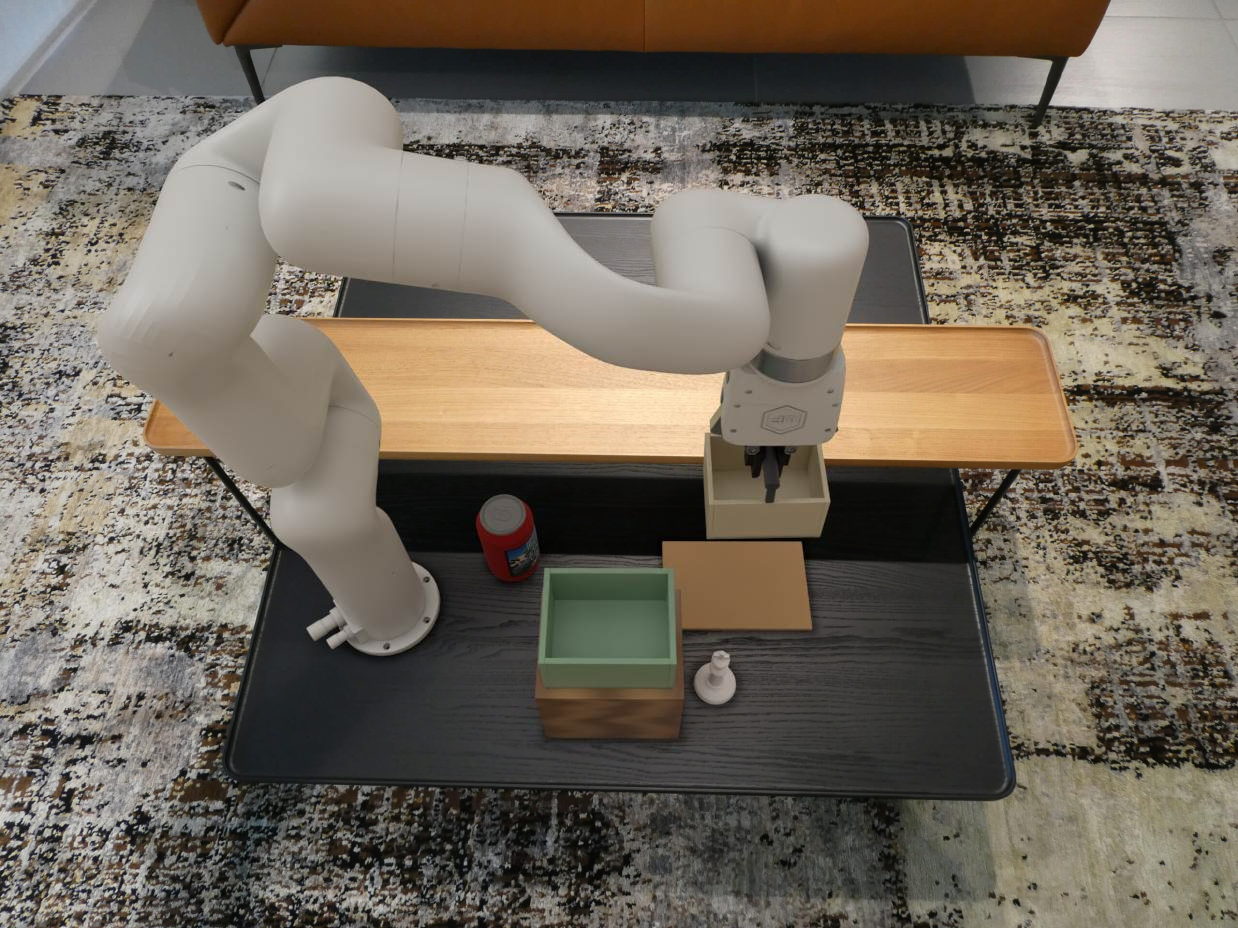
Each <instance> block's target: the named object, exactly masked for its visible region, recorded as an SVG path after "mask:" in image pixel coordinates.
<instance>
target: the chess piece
mask: <svg viewBox="0 0 1238 928" xmlns="http://www.w3.org/2000/svg"><path fill="white" fill-rule="evenodd" d="M730 657H731V655H730V653H727V652H725V650H717V651H713V654H712V655H711V661H710V662H707V663H705V664H704V665H702V666H701V667H699V668H698V669H697V672H696V673H695V675H694V678H693V687H694V691H695V693H696V695H697V696H698V697H699V698H700V699H701V700H702V701H703V702H705V703H707V704H710V705H723V704H726V703H727V702H728V701H730V700H731V698H733V696H734V695H735V693H736V688H737V683H736V677H735V675H734V673H733V671H732V670H731V669H730V668H729V665H730V661H731V658H730Z"/></svg>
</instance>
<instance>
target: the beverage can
mask: <svg viewBox="0 0 1238 928" xmlns="http://www.w3.org/2000/svg"><path fill="white" fill-rule="evenodd" d="M475 526H476V530H477V534H478V538H479V541H480V543H481V547H482V550H483V554H484V556H485V560H486V562H487V565H488V568H489V570H490V572H491V573H492V574H493V575H494V576H495V577H497V578H498V579H499V580H502V581H506V582H519V581H522V580H525V579H526V578H528V577H530V576H531V575H532V574H533V573H535V571H536V570H537V568H538V566H539V564H540V560H541V553H540V547H539V541H538V536H537V532H536V531H537V530H536V526H535V520H534V516H533V513H532V511H531V508H530V507H529V505H528V504H527V503H526V502H524V501H523V500H522V499H519V498H518V497H516V496H514V495H511V494H497V495H494V496H492V497H491V498H489V499H488V500H487V501H485V502H484V503H483V505H482V507H481V509H480V510H479V512H478V513H477V516H476V522H475Z"/></svg>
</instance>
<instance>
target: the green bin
mask: <svg viewBox="0 0 1238 928" xmlns="http://www.w3.org/2000/svg"><path fill="white" fill-rule="evenodd" d="M543 569H544V571H543V583H542V584H543V587H542V589H543V599H542V614H541V630H540V645H539V660H538V664H539V668H540V672H541V675H542V679H543V683H544V687H545V688H595V689H674V682H675V674H676V666H677V657H676V623H675V589H674V568H663V567H655V568H654V567H544V568H543Z"/></svg>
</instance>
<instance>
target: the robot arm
mask: <svg viewBox="0 0 1238 928" xmlns="http://www.w3.org/2000/svg"><path fill="white" fill-rule="evenodd" d="M649 242H650V251H651V252H650V253H651V258H652V260H651V261H652V268H653V275H654V285H651V284H647V283H642V282H639V281H636V280H633V279H630V278H628V277H625V276H624V275H621V274H620V273H617V272H615V271H613V270H611V269H610V268H608V267H606V266H605V265H604V264H602V263H600V262H598V260H596V259H595V258H593V256H591V255H590V254H589V253H587V252H586V251H585V250H584V249H583V248H582V247H581V246H580V245H579V244H578V243H577V242H576V241H575V240H574V239H573V238H572V237H571V235H570V234H569V233H568V232H567V230H566V229H565V227H563V225H562V224H561V222H560V220H559V219H558V218H557V216H556V215H555V214H554V212H553V211H552V210H551V208H550V207H549V206H548V203H546V201H545V199H543V197H542V196H541V195H540V193H539V192H538V191H537V189H535V187H534V186H533V184H532V183H531V181H529V180H528V179H527V178H526V177H525V175H523V174H522V173H520V172H519V171H518V170H515V169H512V168H510V167H503V166H498V165H497V166H496V165H491V164H483V163H477V162H472V161H464V160H457V159H453V158H446V157H440V156H434V155H429V154H422V153H418V152H412V151H405V150H404V128H403V124H402V121H401V117H400V116H399V114H398V112H397V110H396V109H395V106H394V105H393V104H392V103H391V102H390V100H389V99H388V98H387V97H386V96H385V95H384V94H382V93H381V92H380V91H378V90H377V89H376V88H374V87H372V86H370V85H369V84H367V83H365V82H362V81H359V80H356V79H353V78H350V77H343V76H320V77H315V78H309V79H306V80H303V81H300V82H299V83H296V84H293V85H291V86H289V87H286V88H285V89H283V90H281V91H279V92H278V93H276V94H275V95H273V96H271V97H269V98H268V99H266V100H264V101H263V102H261V103H260V104H258V105H256V106H255V107H253V108H252V109H250V110H248V111H247V112H245V113H243V114H242V115H241V116H239V117H238V118H236V119H235V120H233V121H231V122H230V123H228V124H227V125H224V126H223V127H221V128H220V129H218V130H216V131H215V132H213V133H212V134H210V135H208V136H207V137H205V138H204V139H202V140H201V141H199V142H198V143H196V144H195V145H193V146H192V147H191V148H189V149H187V150H186V151H185V152H184V153H183V154H182V155H181V156H180V157H179V158H178V159H177V160H176V162H175V163H174V164H173V166H172V168H171V169H170V170H169V172H168V174H167V176H166V178H165V180H164V183H163V185H162V188H161V189H160V192H159V196H158V198H157V201H156V203H155V206H154V210H153V212H152V215H151V217H150V221H149V223H148V226H147V228H146V230H145V232H144V233H143V236H142V239H141V241H140V244H139V247H138V249H137V251H136V254H135V256H134V261H133V263H132V264H131V267H130V269H129V271H128V273H127V275H126V277H125V280H124V282H123V283H122V285H121V287H120V288H119V290H118V292H117V293H116V295H115V296H114V298H113V299H112V301H111V302H110V304H109V305H108V306H107V308H106V310H105V311H104V313H103V314H102V316H101V317H100V319H99V321H98V324H97V332H96V338H97V339H96V340H97V346H98V347H99V348H98V349H99V350H100V352H101V354H102V356H103V358H104V359H105V361H106V362H107V364H108V365H109V366H110V367H111V368H112V369H113V370H114V371H115V372H116V373H117V374H118V375H119V376H120V377H122V378H123V380H125V381H127V382H128V383H130V384H132V385H133V386H134V387H136V388H137V389H139V390H141V391H142V392H144V393H145V394H148V395H149V396H151V397H153V398H154V399H155V400H157V402H159V403H161V405H163V406H164V407H165V408H166V409H167V410H168V411H170V412H171V414H173V416H175V417H176V419H177V420H178V421H179V422H180V423H181V424H182V425H183V426H184V427H185V428H187V430H188V431H190V433H192V434H193V435H194V437H196V438H197V439H198V440H199V441H200V442H201V444H203V445H204V446H205V447H206V448H207V449H208V450H209V451H210V452H211V453H213V454H214V456H216V457H217V458H218V459H219V460H220V462H222V463H223V464H224V465H225V466H226V467H228V469H230V470H231V471H233V472H234V473H235V474H236V475H237V476H239V477H240V478H241V479H243V480H245V481H247V482H248V483H250V484H253V485H254V486H258V487H261V488H267V489H271V493H270V500H269V521H270V526H271V529H272V531H273V534H274V535H275V536H276V538H277V539H279V542H281V543H282V544H283V545H285V546H286V547H287V548H289V549H290V550H292V551H294V552H296V553H297V554H298V555H299V556H301V557H302V558H303V560H304V561H305V562H306V563H307V564H308V566H309V567H310V568H311V570H312V571H313V572H314V573H315V575H316V576H317V578H318V579H319V580H320V582H321V583H322V584H323V586H324V587H325V589H326V590H327V591H328V593H329V594H330V596H331V597H332V602H333V603H334V605H335V606H334V607H333V608H332V609H329V614H328V615H326V616H324V617H323V618H321V619H318V620H317V621H315V622H314V623H312V624H310V625H308V626H307V627H306V630H307V632H308V634H309V635H310V637H311V638H312V640H313V641H314V642H316V641H318V640H320V639H321V638H323V637H324V636H326V635H328V634H329V632H331V631H333V630H334V629H336V628H337V627H338V629H339V631H338V632H337V633H335V634H333V635H331V636H330V637H328V638H327V639H326V642H327V644H328V646H329V647H330V649H331V651H332V650H335V649H336V648H337V647H339V646H341V645H342V644H343V643H344V642H345V641H347V643H349V644H350V646H352V647H353V648H354V649H356V650H357V651H359V652H361V653H364V654H367V655H370V656H377V657H378V656H379V657H385V656H393V655H397V654H400V653H403V652H405V651H407V650H410V649H412V648H413V647H414V646H417V644H419V643H420V642H421V641H422V640H423V639H424V638H426V637H427V635H428V634H429V633H430V631H432V629H433V628H434V626H435V624H436V621H437V620H438V617H439V613H440V609H441V596H440V590H439V588H438V585H437V583H436V581H435V579H434V577H433V576H432V575H431V573H430V572H429V570H427V569H426V568H425V567H423V566H422V565H420V564H418V563H416V562H414V561H412V560H411V558H410V556H409V553H408V552H407V550H406V548H405V546H404V543H403V542H402V540H401V537H400V535H399V533H398V531H397V529H396V528H395V526H394V523H393V521H392V520H391V518H390V517H389V515H388V514H387V513H386V512H385V511H384V510H383V509H382V508H380V507H379V506H377V485H378V484H377V483H378V475H379V474H378V473H379V460H380V452H381V440H382V433H383V432H382V430H383V428H382V427H383V424H382V416H381V412H380V410H379V408H378V405H377V404H376V402H375V401H374V399H373V397H372V396H371V394H370V392H368V390H367V388H366V387H365V386H364V383H362V381H361V379H360V378H359V377H358V376H357V374H356V373H355V371H354V370H353V368H352V367H351V365H350V363H349V362H348V360H347V359H346V358H345V356H344V355H343V354H342V352H341V350H340V349H339V348H338V347H337V345H336V344H335V343H334V342H333V340H332V339H331V338H330V337H329V336H328V335H326V334H325V333H324V332H323V331H322V330H320V329H319V328H318V327H316V326H314V325H313V324H311V323H309V322H308V321H305V320H303V319H300V318H298V317H295V316H291V315H287V314H281V313H264V312H265V309H266V306H267V303H268V299H269V295H270V291H271V286H272V283H273V279H274V276H275V274H276V268H277V264H278V259H279V257H280V258H281V259H282V260H283V261H284V262H286V263H288V264H290V265H291V266H293V267H295V268H298V269H300V270H303V271H306V272H311V273H315V274H320V275H325V276H335V277H342V278H350V279H358V280H365V281H372V282H378V283H379V282H380V283H387V284H395V285H403V286H411V287H418V288H425V289H433V290H440V291H441V290H442V291H448V292H449V291H450V292H456V293H464V294H471V295H472V294H474V295H480V296H481V295H482V296H487V297H493V298H498V299H501V300H503V301H505V302H508V303H510V304H511V305H512V306H514V307H515V308H517V309H518V310H519V311H521V313H523V314H524V315H525V316H526V317H527V318H528V319H530V320H531V321H532V322H533V323H535V324H536V325H538V326H539V327H540V328H541V329H543V330H544V331H546V332H548V333H549V334H550V335H552V336H554V337H555V338H557V339H559V340H560V341H562V342H564V343H566V344H567V345H569V346H570V347H572V348H574V349H576V350H577V351H579V352H582V353H583V354H585V355H587V356H589V357H590V358H592V359H593V358H594V359H596V360H598V361H601V362H603V363H605V364H608V365H612V366H615V367H620V368H624V369H629V370H636V371H644V372H653V373H663V374H671V375H672V374H673V375H674V374H675V375H683V376H685V375H686V376H687V375H689V376H692V375H693V376H704V375H705V376H706V375H707V376H708V375H716V374H722V373H724V377H723V381H722V386H721V390H720V397H719V398H720V399H719V403H720V405H719V407H718V408H717V409H716V411H715V412H714V413H713V414H712V415H711V418H710V419H709V433H710V432H711V433H712V434H716V435H721V436H723V439H724V440H725V441H727V442H729V443H731V444H735V445H742V446H744V447H745V452H744V461H745V466H751V474H752V478H758V477H759V476H760V472H761V467H762V461H763V458H764V453H763V446H776V455H777V463H778V472H779V478H780V477H781V474H782V470H783V466H788V464H789V461H790V457H791V454H794V453H796V452H797V450H798V447H799V446H800V445H818V444H822V445H823V444H825V443H828V442H829V441H831V440H832V439H833V437H834V436H835V434H836V433H837V432H839V421H840V416H841V410H842V405H843V401H844V400H843V399H844V392H845V385H846V375H847V374H846V373H847V362H846V361H847V360H846V356H845V353H844V349H843V345H842V344H841V343H842V340H843V336H844V332H845V330H846V326H847V323H848V319H849V315H850V312H851V309H852V306H853V302H854V299H855V295H856V293H857V288H858V285H859V283H860V282H859V281H860V278H861V275H862V272H863V268H864V265H865V261H866V258H867V254H868V250H869V245H870V231H869V227H868V224H867V222H866V220H865V219H864V217H863V215H862V214H861V213H860V211H858V209H857V208H855V207H854V206H853V205H852V204H850V203H848V202H847V201H845V200H844V199H841V198H838V197H836V196H832V195H828V194H822V193H807V194H806V193H805V194H799V195H795V196H792V197H789V198H784V199H783V198H776V197H768V196H767V197H766V196H761V195H753V194H750V193H749V194H748V193H743V192H738V191H737V192H736V191H731V190H726V189H718V188H704V187H703V188H701V187H700V188H699V187H698V188H689V189H684V190H681V191H678V192H675V193H673V194H671V195H670V196H668V197H667V198H665V199H664V200H663V201H662V202H661V203H659V205H658V206H657V207H656V209H655V210H654V212H653V215H652V217H651V221H650V225H649Z"/></svg>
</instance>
